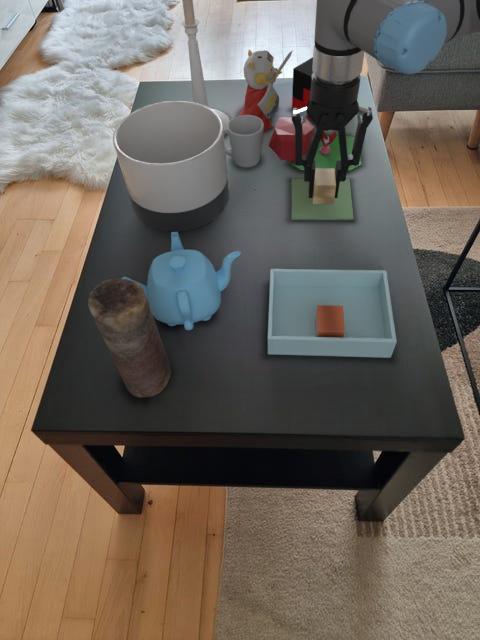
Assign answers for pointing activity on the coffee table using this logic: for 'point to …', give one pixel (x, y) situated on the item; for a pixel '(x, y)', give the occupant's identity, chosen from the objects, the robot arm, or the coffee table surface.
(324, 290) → the box
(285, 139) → the low-poly diorama
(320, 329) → the terracotta piece
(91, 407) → the coffee table surface
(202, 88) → the candlestick
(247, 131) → the cup
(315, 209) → the mat
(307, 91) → the puzzle toy
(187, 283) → the teapot
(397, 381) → the coffee table surface
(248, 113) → the figurine
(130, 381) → the candle
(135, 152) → the planter
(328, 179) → the birch piece
